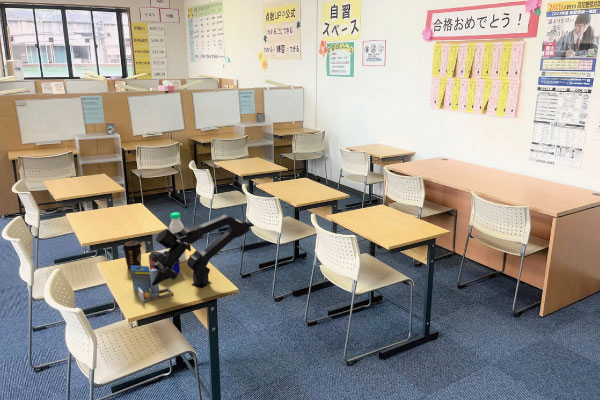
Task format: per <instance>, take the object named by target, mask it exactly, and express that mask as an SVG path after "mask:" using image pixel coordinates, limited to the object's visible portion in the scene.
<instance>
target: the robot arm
mask: <svg viewBox="0 0 600 400" xmlns="http://www.w3.org/2000/svg"><path fill="white" fill-rule="evenodd" d="M225 226H228V228H227V230H226V231H225V232H224V233H223V234H221V236H219V237H218V238H216V239H215V240H214V241H213V242H212V243H210V244H209V246H207V247H206V248H205V249H203V250H202V251H199V250H198V249H197V250H195V251H194V252H193V253H192V254H189V257H188V258H187V262H186V263H187V267H188V268H190V269H191V270H192V280H193V281H192V282H193V283H191V286H194V287H197V288H199V289H203V288H206V287H207V286H209V285H211V284H212V282H211V281H210V280H209V274H210V272H211V268H209V267H208V264H209V262H210V260H211V259H212V258H213V257H214V256H215V255H217V254H218V253H219V252H221V250H223V249H224V248H225V247H226V246H227V245H228V244H229V243H231V242H232V241H233V240H235V239H237V238H241V237H243V236H244V235H246V234H247V233H248V232H249V231H250V224H249V223H248V222H246V221H245V220H243V219H241V218H234V217H231V216H230V215H228V214H226V213H225V214H221V215H220V216H218V217H216V218H214V219H211V220H209V221H207V222H203V223H202V224H199V225H192V226H187V227H184V228H183V229H182V230H181V231H179V232H176V233H172V232H170V230H169V228H165V229H164V230H162V231H161V232H158V235H157V236H156V238H155V241H156V243H158V244H160V245H161V246H163V247H164V248H165V249H167V250H168V251H165V252H164V253H161V252H159V251H157V250H151V251H150V254H149V255H150V256H149V255H148V259H149V258H150V259H151V260H152V261H153V262H155V263H153V268H154V269H157V271H158V275H157V276H156V278H155V279H154V281H153V283H152V285H153V286H154V285H156V284H158V283H159V284H160V283H162V282H165V281H166V280H168V279H171V280H173V281H175V280H176V279H177V278H178V273H176V272H175V271H174V270H173V269H174V268H173V266H174V264H175V263H176V262H179V261H180V260H178V259H179V258H180V257H181V255H182V254H183V253H184V252H185V253H186V251H189V252H192V248H191V245H192V244H194V243H196V242H198V241H199V240H200V239H201V238H202V237H203V236H204V235H208V234H209V233H212V232H214V231H216V230H218V229H221V228H224V227H225ZM177 240H179V241H180V242H178V241H177ZM184 242H185V243H184ZM179 263H180V262H179ZM149 282H151V281H150V279H149Z"/></svg>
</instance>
